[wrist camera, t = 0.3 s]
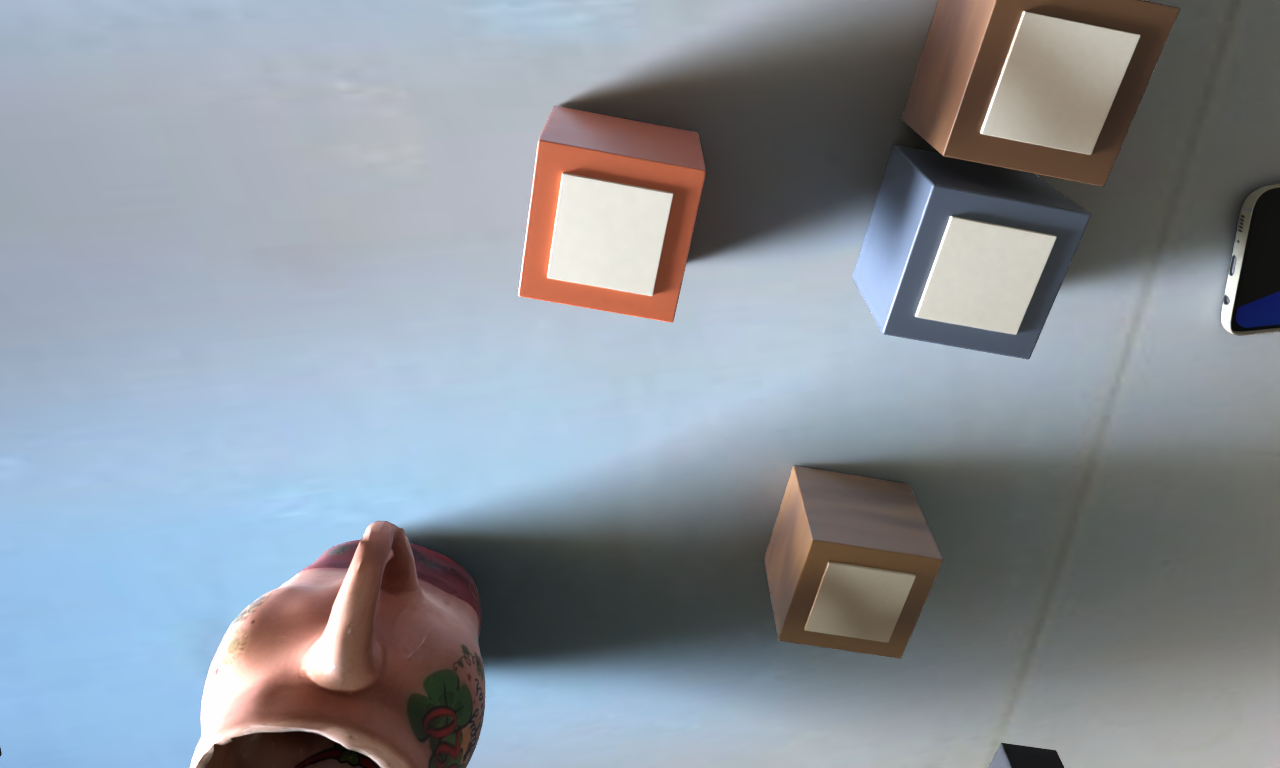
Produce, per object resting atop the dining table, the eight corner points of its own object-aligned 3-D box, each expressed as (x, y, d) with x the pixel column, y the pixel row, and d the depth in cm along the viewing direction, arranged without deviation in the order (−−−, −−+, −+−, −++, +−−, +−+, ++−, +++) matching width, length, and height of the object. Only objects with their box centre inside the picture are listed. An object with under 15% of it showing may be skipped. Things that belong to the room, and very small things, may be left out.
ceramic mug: (275, 400, 44) (129, 596, 31) (529, 438, 45) (483, 643, 32) (280, 698, 53) (169, 940, 41) (490, 724, 54) (444, 969, 41)
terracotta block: (554, 105, 37) (537, 140, 32) (698, 132, 38) (707, 171, 32) (535, 244, 40) (517, 298, 34) (669, 267, 40) (673, 324, 35)
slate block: (893, 144, 38) (934, 185, 32) (1031, 170, 38) (1094, 215, 33) (851, 278, 40) (882, 336, 35) (980, 301, 41) (1031, 362, 36)
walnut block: (950, -40, 34) (1006, -29, 29) (1100, -9, 35) (1183, 8, 29) (900, 119, 37) (943, 157, 32) (1040, 146, 38) (1106, 188, 32)
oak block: (792, 464, 45) (813, 541, 40) (909, 483, 46) (945, 562, 40) (763, 559, 48) (778, 643, 42) (873, 576, 48) (902, 661, 43)
